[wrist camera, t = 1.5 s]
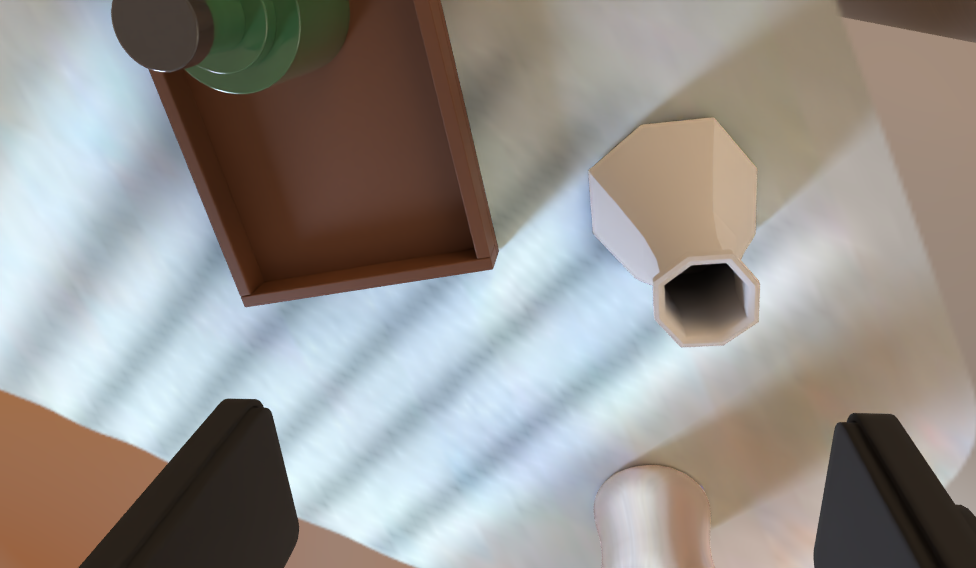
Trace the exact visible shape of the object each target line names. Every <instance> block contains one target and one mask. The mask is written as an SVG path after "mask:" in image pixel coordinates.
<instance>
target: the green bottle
mask: <svg viewBox="0 0 976 568" xmlns="http://www.w3.org/2000/svg"><path fill="white" fill-rule="evenodd" d="M111 17H112V24H113V28H114V31H115V34H116V36H117V38H118V40H119V42H120V44H121V46H122V47H123V48H124V50H125V51H126V52H127V53H128V55H129V56H130V57H131V58H133V59H134V60H135V61H136V62H137V63H139V64H140V65H142V66H144V67H146V68H148V69H150V70H153V71H157V72H163V73H164V72H174V71H178V70H182V69H185V70H186V71H187V72H188V73H189V74H190V75H191V76H193V77H194V78H195V79H197V80H198V81H200V82H201V83H203V84H205V85H207V86H208V87H211V88H213V89H216V90H218V91H221V92H225V93H230V94H251V93H256V92H259V91H262V90H265V89H268V88H270V87H273V86H276V85H278V84H281V83H284V82H287V81H289V80H292V79H295V78H297V77H300V76H303V75H306V74H308V73H311V72H314V71H316V70H318V69H320V68H322V67H324V66H325V65H327V64H328V63H329V62H330V61H331V60H332V59H334V57H335V56H336V55H337V54H338V52H339V51H340V49H341V48H342V46H343V44H344V41H345V39H346V36H347V33H348V29H349V22H350V8H349V0H113V2H112V9H111Z"/></svg>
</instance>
